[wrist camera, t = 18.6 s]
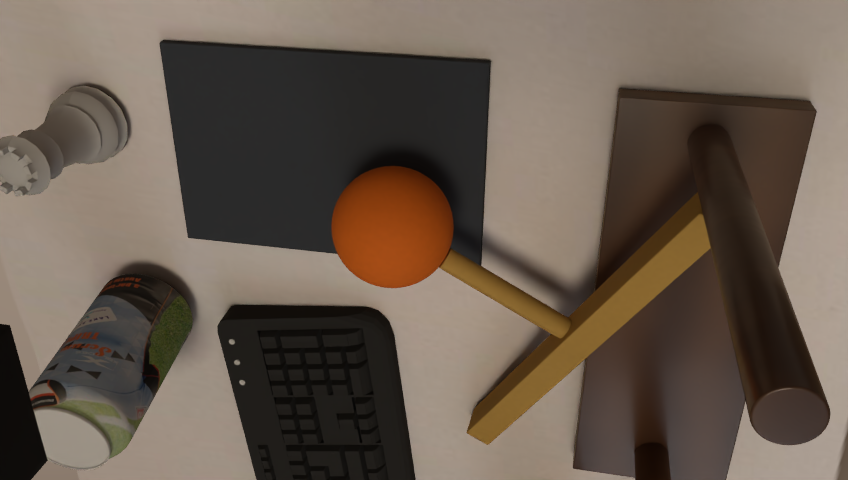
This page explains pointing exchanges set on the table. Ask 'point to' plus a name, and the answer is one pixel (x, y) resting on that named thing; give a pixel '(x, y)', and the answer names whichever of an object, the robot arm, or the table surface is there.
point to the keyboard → (318, 392)
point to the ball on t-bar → (430, 248)
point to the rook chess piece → (62, 140)
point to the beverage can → (109, 371)
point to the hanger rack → (701, 290)
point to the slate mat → (319, 136)
